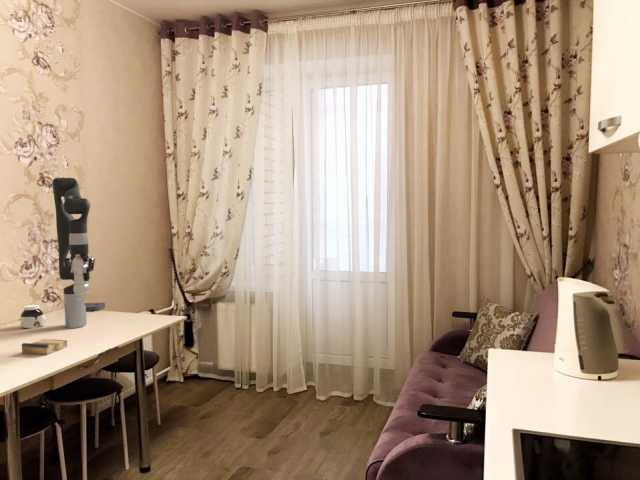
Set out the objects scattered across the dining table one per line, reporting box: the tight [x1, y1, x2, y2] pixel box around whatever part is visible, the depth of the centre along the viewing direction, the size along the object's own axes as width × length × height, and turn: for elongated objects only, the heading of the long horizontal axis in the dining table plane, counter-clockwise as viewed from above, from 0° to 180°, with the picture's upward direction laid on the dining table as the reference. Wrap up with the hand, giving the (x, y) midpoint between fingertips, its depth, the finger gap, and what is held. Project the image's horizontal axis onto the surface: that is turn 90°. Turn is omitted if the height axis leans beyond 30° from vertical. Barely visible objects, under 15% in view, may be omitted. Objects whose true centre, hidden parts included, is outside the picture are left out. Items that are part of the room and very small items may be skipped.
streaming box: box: [84, 302, 106, 313], centre depth 292 cm, size 13×13×4 cm
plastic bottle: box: [72, 254, 91, 296], centre depth 222 cm, size 6×7×20 cm
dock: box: [21, 338, 68, 356], centre depth 213 cm, size 12×12×4 cm
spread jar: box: [20, 304, 47, 330], centre depth 255 cm, size 12×11×12 cm
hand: (80, 280), depth 222 cm, fingers closed on plastic bottle, 5 cm apart
